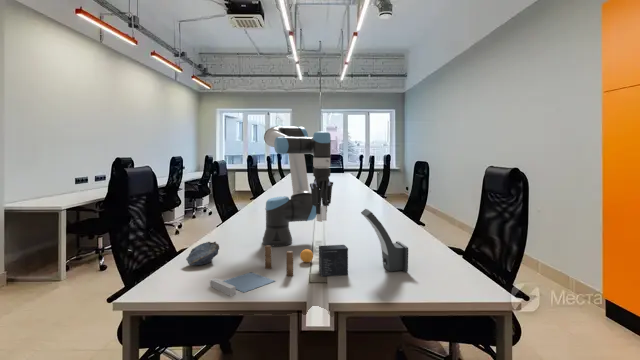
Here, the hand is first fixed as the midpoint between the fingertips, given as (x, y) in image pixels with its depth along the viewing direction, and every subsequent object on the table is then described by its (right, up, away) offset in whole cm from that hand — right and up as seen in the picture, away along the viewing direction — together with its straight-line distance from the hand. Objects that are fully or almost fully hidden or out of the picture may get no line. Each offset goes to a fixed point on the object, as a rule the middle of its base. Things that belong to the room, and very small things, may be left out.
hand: (321, 220), depth 160 cm
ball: (-6, -14, -6) cm, 17 cm away
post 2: (-12, -18, -22) cm, 31 cm away
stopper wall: (-34, -20, -37) cm, 54 cm away
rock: (-49, -17, -8) cm, 53 cm away
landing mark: (-27, -19, -29) cm, 44 cm away
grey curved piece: (+25, -18, -14) cm, 34 cm away
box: (+4, -19, -19) cm, 27 cm away
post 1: (-22, -18, -13) cm, 31 cm away
